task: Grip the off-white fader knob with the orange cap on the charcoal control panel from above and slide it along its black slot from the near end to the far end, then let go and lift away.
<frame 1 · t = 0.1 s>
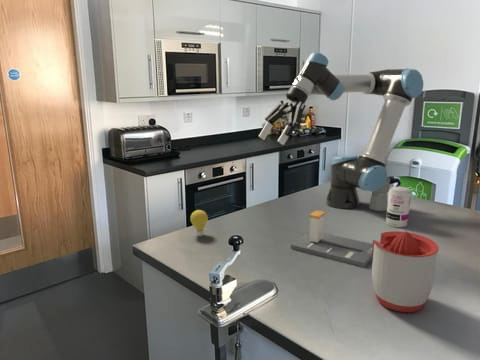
hand: (270, 140, 146), 36 cm above the worktop, tool tilted 35°, fingers open, 13 cm apart
fader panel: (334, 248, 138), on the worktop
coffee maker: (380, 208, 180), on the worktop, touching arm
citrus juicer: (396, 300, 107), on the worktop
fader knob: (316, 226, 141), point 7 cm above the worktop, slide at 0.0 cm
supplement can: (396, 224, 160), on the worktop
light bulb: (199, 235, 152), on the worktop
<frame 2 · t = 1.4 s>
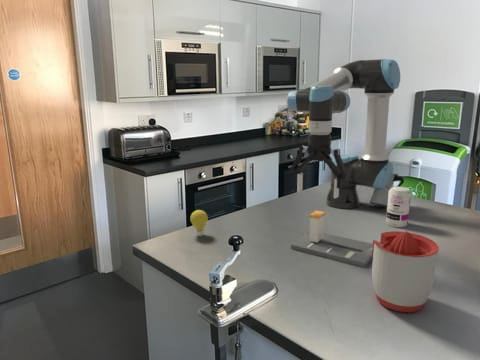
hand: (317, 194, 138), 19 cm above the worktop, tool pointing down, fingers open, 13 cm apart
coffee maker: (381, 205, 180), point 1 cm above the worktop
everything else where it was.
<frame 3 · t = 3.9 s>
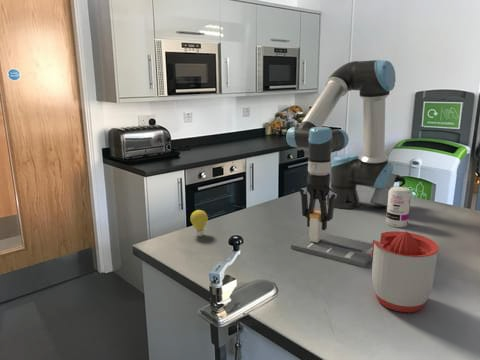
hand: (316, 236, 142), 3 cm above the worktop, tool pointing down, fingers closed on fader knob, 3 cm apart
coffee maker: (381, 205, 180), point 1 cm above the worktop, touching arm
fader knob: (316, 226, 141), point 7 cm above the worktop, slide at 0.0 cm, touching gripper
everything else where it was.
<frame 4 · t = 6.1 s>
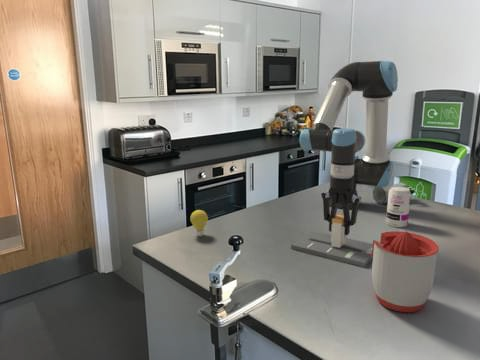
hand: (338, 241, 137), 3 cm above the worktop, tool pointing down, fingers closed on fader knob, 3 cm apart
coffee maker: (380, 195, 184), point 5 cm above the worktop
fader knob: (339, 231, 136), point 7 cm above the worktop, slide at 8.2 cm, touching gripper
everything else where it was.
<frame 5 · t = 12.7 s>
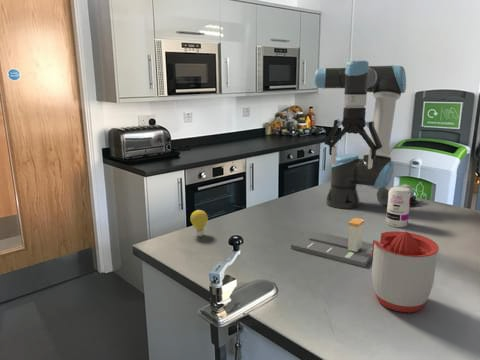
hand: (351, 166, 144), 27 cm above the worktop, tool pointing down, fingers open, 13 cm apart
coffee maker: (384, 197, 182), point 4 cm above the worktop
fader knob: (355, 234, 133), point 7 cm above the worktop, slide at 14.0 cm
everything else where it was.
at the end: fader knob slide at 14.0 cm; the gripper is holding nothing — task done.
